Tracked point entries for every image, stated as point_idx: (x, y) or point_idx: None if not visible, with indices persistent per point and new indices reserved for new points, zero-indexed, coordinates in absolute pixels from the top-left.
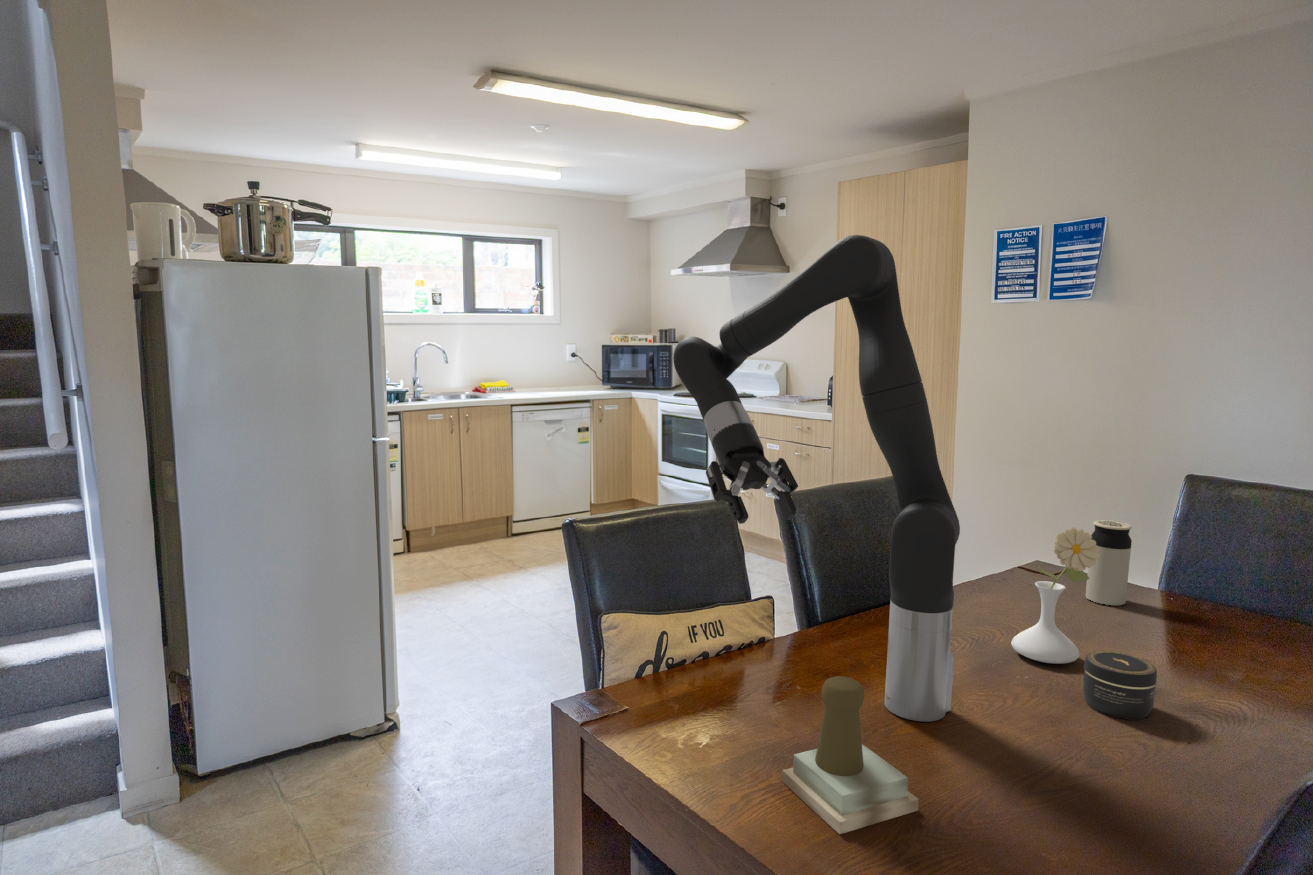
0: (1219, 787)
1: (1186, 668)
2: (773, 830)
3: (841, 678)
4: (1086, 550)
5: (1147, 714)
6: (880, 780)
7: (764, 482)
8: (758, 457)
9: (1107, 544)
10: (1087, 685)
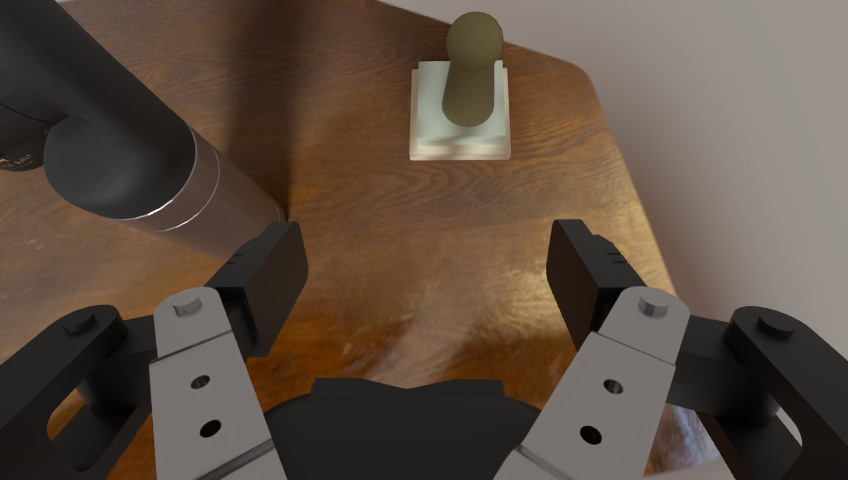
0: (134, 13)
1: None
2: (559, 100)
3: (474, 33)
4: None
5: None
6: (448, 66)
7: (319, 386)
8: None
9: None
10: (31, 142)
